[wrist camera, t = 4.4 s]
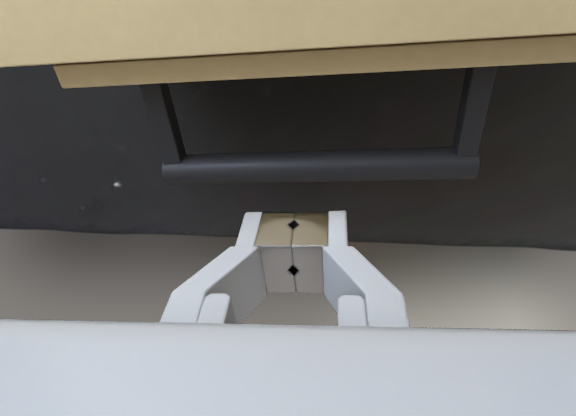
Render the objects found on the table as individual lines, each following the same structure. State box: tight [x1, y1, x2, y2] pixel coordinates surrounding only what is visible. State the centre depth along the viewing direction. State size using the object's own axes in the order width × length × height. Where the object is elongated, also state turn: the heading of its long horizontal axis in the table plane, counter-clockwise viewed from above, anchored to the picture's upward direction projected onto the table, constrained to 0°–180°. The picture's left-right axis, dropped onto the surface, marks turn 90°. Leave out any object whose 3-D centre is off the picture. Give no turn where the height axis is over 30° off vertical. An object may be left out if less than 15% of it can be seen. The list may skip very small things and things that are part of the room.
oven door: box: [53, 33, 576, 185], centre depth 24 cm, size 22×7×15 cm, turn 95°
